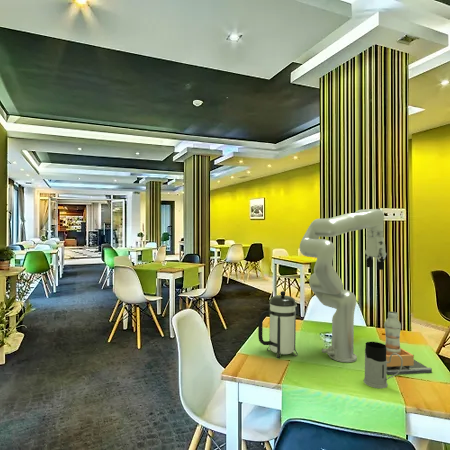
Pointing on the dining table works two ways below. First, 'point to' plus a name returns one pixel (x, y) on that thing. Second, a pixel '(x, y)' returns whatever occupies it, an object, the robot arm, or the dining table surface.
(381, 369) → the grey mug
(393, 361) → the orange open tray
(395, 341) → the plastic bottle
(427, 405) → the dining table surface
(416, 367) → the grey flat slab
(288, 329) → the coffee press
